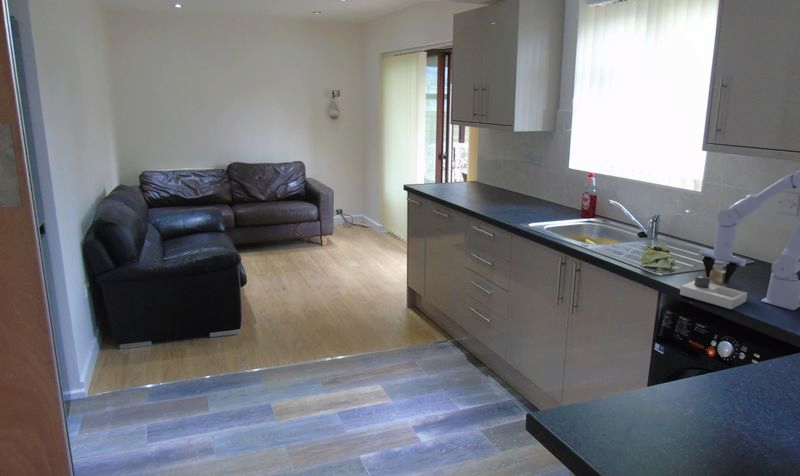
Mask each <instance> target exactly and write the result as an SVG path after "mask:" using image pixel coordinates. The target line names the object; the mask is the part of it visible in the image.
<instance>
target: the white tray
mask: <svg viewBox="0 0 800 476" xmlns="http://www.w3.org/2000/svg"><path fill="white" fill-rule="evenodd" d="M679 295H680V296H684V297H688V298H691V299H694V300H697V301H702V302H705V303H708V304H712V305H715V306H719V307H723V308H725V309H728V310H733V309H734V308H736V307H738V306H740V305H742V304H744V303H745V302H747V296H748V292H745V291H741V290H737V289H734V288H730V287H726V286H725V287H723V286H720V285H716V284H712V283H710V278H709V277H707V276H706V275H703V274H702V275H701V274H698V275H695V279H694V280H692V281H690V282H687V283H685V284H682V285H680V291H679Z"/></svg>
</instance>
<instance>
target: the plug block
mask: <svg viewBox="0 0 800 476" xmlns="http://www.w3.org/2000/svg"><path fill="white" fill-rule="evenodd" d="M725 275H726V270H724V269H723V270H719V269H713V270H711V271H710V276H709V278H710V283H712V284H716V285H720V286H723V287H726V284H725V283H724V279H725Z"/></svg>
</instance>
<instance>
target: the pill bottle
mask: <svg viewBox="0 0 800 476" xmlns="http://www.w3.org/2000/svg"><path fill="white" fill-rule="evenodd" d="M724 265H725V262H724V261H720V260H716V259H715V262H714V265H713V269H719V270H723V271H724ZM713 269H712V270H713Z"/></svg>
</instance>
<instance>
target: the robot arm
mask: <svg viewBox="0 0 800 476" xmlns="http://www.w3.org/2000/svg"><path fill="white" fill-rule="evenodd" d="M794 189H795V190H796V189H798V190H800V169H799V170H797V171H795V172H793V173H791V174H789V175H785V176H784V177H782V178H780V179H779V180H778V181H776V182H775V183H773V184H771V185H770V186H768V187H767V188H765V189H764V190H761V191H760V192H759V193H757V194H751V193H750V194H747V195H746V194H744V195H743V196H741V199H739V200H738V201H737V202H735V203H730V204H729V205H728V207H729V208H723V209H721V211H720V212H719V213H717V217H716V218H717V219H716V220H717V222H718V226H717V230H716V234H715V238H714V239H715V240H714V244H713V245H714V246H713V251H709V250H703V249H701V250H699V251H698V257H703V259H702V263H703V266H704V270H705V276H707V277H709V276H710V271H711V270H712V269H713V265H714V262H715V259H716V260H720V261H724V263H725V262H726V264H725V271H726V275H725V279H724V283H725V285H726V284H728V283H729V282H730V280H731V278H732V276H733V274H734V273H735V272H736V270H738V268H739V267H745V266H746V263H747V262H746V261H747V260H746V259H742V258H740V257H736V256H733V252H734V246H735V241H736V235H737V229H738V225H739V223H740V222H741V221H742V220H744V219H746V218H747V217H749V216H751V215H753V214H754V213H756V212H758V211H759V210H761V209H762V208H763V205H764V203H765V202H766V201H769V200H770V199H772V198H774V197H776V196H777V195H779V194H781V193H782V192H785V191H787V190H794ZM770 269H771V274H770V280H769V283H768V288H767V292H766V297H764V298H762V299H761V302H762V303H766V304H770V305H773V306H776V307H781V308H784V309H788V310H791V311H795V310H797V309H798V308H800V280H799V277H798V274H797V273H798V272H799V271H800V219H799V221H798V222H797V224H796V227H795V228H794V231H793V233H792V234H791V237H790V238H789V241H788V243H787V245H786V247H785V248H784V250H783V251H782V252H781V254H780V256H779V258H777V259H776V260H774V262H773V263H772V264H771V268H770Z"/></svg>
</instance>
